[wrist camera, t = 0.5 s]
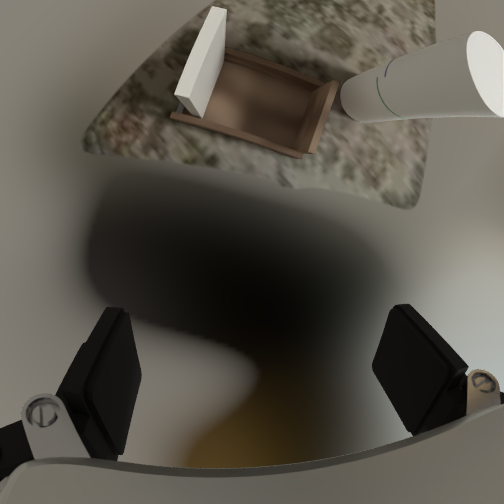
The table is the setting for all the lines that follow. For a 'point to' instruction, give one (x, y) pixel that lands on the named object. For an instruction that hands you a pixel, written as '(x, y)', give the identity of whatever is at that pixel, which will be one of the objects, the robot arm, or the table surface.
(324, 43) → the table surface
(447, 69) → the cylindrical container
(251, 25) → the table surface
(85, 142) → the table surface
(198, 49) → the block
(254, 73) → the brown wooden tray
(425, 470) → the robot arm
